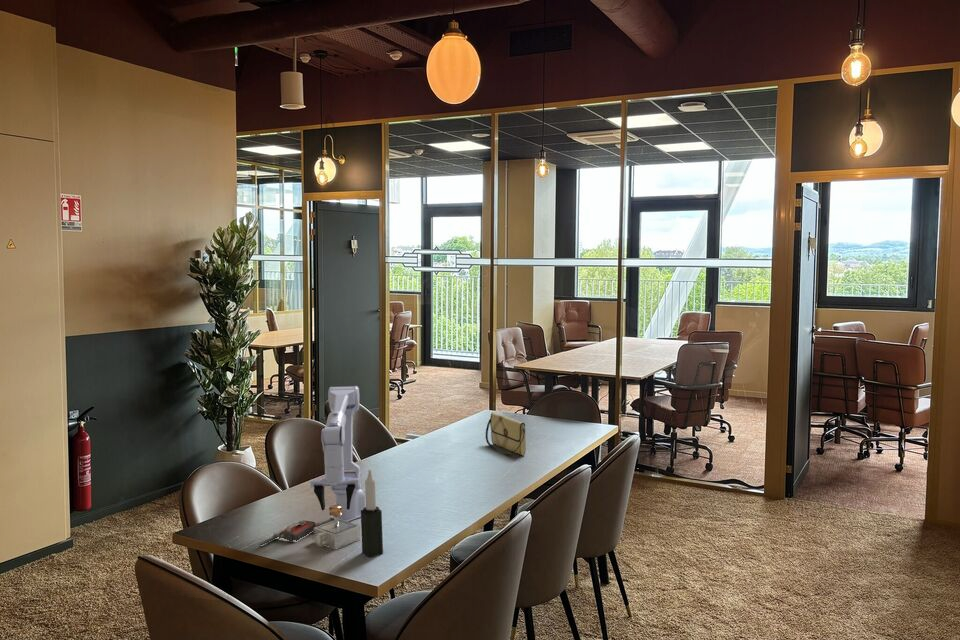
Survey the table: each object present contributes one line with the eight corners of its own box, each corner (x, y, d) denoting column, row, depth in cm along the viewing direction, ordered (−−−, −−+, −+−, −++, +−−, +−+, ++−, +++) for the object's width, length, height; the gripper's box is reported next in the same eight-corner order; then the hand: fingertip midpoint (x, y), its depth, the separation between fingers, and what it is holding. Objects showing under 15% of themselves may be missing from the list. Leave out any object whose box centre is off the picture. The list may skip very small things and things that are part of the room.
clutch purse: (481, 445, 343) (481, 413, 342) (494, 443, 346) (494, 411, 345) (515, 459, 317) (514, 424, 316) (528, 457, 320) (528, 423, 319)
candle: (368, 557, 213) (365, 473, 211) (360, 552, 217) (357, 469, 216) (384, 553, 216) (381, 469, 214) (376, 548, 220) (373, 466, 219)
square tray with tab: (339, 532, 234) (338, 518, 234) (360, 539, 228) (359, 525, 227) (308, 544, 225) (307, 529, 224) (329, 551, 218) (329, 537, 218)
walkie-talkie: (297, 527, 241) (257, 549, 223) (296, 514, 241) (256, 535, 222) (319, 530, 238) (281, 553, 219) (319, 516, 237) (280, 538, 219)
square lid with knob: (338, 522, 232) (337, 500, 232) (354, 527, 227) (354, 505, 227) (318, 529, 226) (317, 507, 226) (334, 535, 221) (334, 512, 221)
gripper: (307, 469, 221) (309, 514, 222) (356, 468, 221) (357, 512, 222) (312, 463, 228) (314, 506, 229) (359, 461, 228) (360, 504, 229)
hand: (335, 508), depth 226 cm, fingers open, 7 cm apart
